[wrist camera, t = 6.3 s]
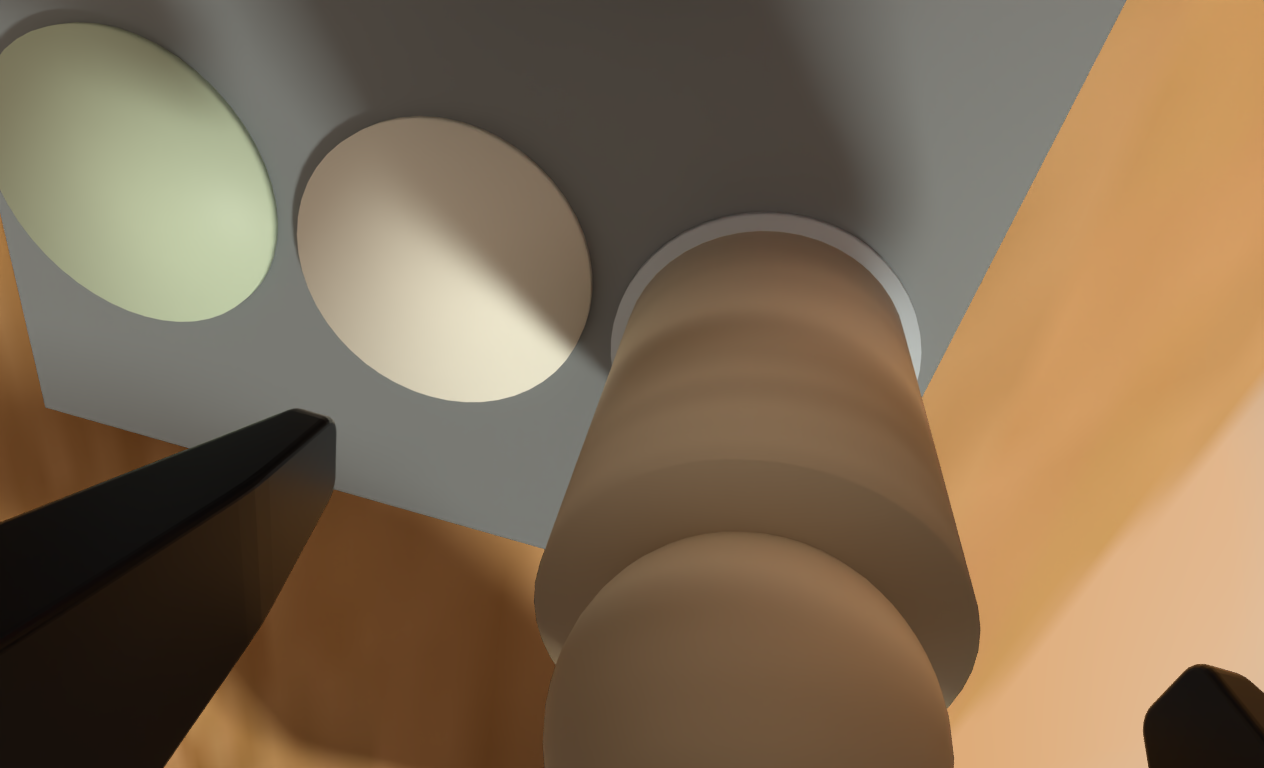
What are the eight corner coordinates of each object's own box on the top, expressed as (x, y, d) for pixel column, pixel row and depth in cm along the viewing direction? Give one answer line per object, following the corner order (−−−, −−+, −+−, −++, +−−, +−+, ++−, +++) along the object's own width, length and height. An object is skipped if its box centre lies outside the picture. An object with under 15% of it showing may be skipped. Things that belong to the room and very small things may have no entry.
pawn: (912, 463, 12) (1056, 1117, 6) (653, 481, 13) (525, 1055, 7) (898, 209, 10) (1096, 767, 4) (595, 253, 11) (335, 752, 5)
